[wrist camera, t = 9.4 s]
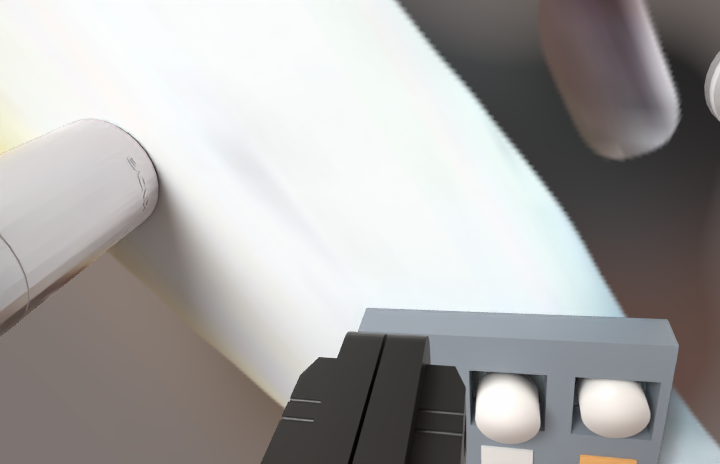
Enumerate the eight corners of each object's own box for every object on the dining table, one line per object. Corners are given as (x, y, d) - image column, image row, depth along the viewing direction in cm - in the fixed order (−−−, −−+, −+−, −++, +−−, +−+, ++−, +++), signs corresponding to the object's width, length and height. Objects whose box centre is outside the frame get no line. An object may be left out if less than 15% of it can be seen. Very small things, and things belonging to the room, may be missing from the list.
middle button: (477, 411, 45) (475, 441, 43) (476, 367, 43) (474, 394, 41) (537, 416, 44) (539, 446, 41) (539, 370, 42) (541, 399, 39)
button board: (384, 449, 52) (377, 478, 50) (366, 308, 45) (357, 332, 43) (641, 475, 47) (650, 509, 44) (667, 319, 40) (679, 348, 37)
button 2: (574, 406, 45) (578, 435, 42) (578, 360, 43) (583, 388, 40) (637, 410, 43) (646, 441, 41) (644, 364, 41) (654, 393, 39)
